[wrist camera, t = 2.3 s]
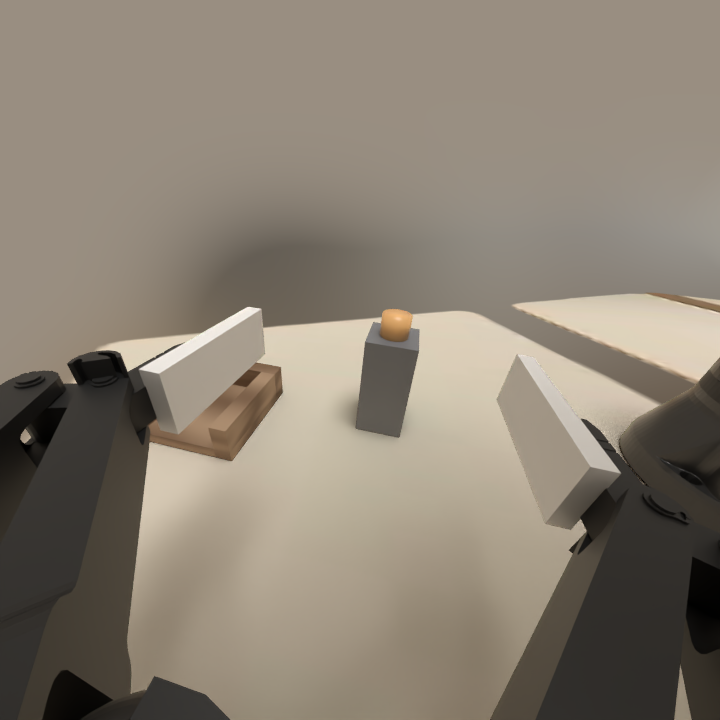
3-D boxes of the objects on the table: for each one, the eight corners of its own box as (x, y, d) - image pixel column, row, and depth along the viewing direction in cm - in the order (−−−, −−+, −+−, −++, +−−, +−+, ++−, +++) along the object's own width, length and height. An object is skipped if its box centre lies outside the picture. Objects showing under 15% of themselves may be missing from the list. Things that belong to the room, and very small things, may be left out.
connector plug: (399, 437, 27) (423, 328, 21) (355, 428, 28) (367, 319, 22) (402, 409, 31) (423, 309, 25) (363, 401, 32) (375, 302, 26)
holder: (231, 460, 23) (224, 431, 22) (130, 436, 25) (115, 406, 23) (282, 392, 32) (280, 367, 30) (205, 376, 33) (199, 351, 31)
